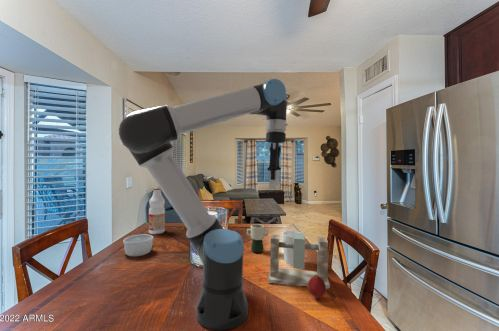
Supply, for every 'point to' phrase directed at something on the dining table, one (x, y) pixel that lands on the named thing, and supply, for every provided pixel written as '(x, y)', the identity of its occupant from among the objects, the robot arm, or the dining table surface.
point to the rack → (297, 275)
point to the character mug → (257, 236)
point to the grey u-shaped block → (298, 250)
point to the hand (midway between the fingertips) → (274, 187)
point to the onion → (316, 286)
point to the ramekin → (138, 244)
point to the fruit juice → (156, 212)
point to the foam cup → (288, 252)
